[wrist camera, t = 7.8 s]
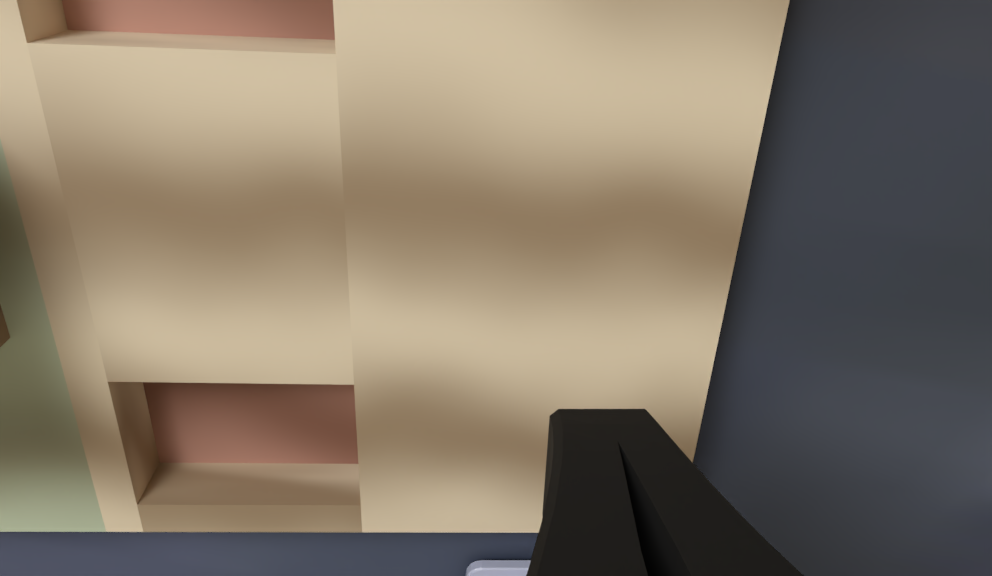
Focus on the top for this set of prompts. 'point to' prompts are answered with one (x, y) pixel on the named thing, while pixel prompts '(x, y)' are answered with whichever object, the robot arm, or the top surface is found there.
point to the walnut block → (3, 329)
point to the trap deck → (357, 249)
